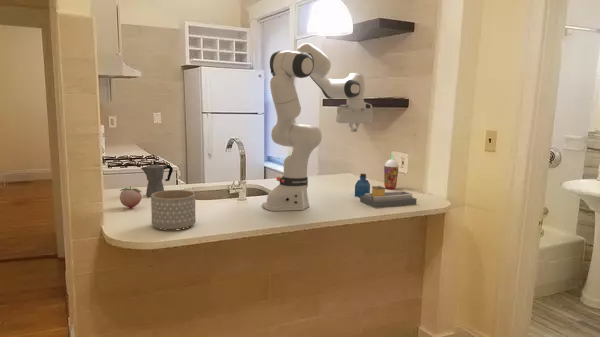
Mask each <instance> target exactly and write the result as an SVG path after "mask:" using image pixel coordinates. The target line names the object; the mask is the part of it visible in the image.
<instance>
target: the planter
mask: <svg viewBox="0 0 600 337" xmlns="http://www.w3.org/2000/svg"><path fill="white" fill-rule="evenodd" d="M150 200H151V201H150V203H151V204H150V208H151V209H150V210H151V226H153V227H154V228H156V229H158V228H161V229H166V230H176V229H183V228H187V227H189V226H190V227H192V226H193V225H195V224H196V223H197V222H196V193H195V192H194V191H192V190H191V191H190V190H185V189H184V190H183V189H170V190H169V189H167V190H164V191H159V192H155V193H153V194H152V195H151V199H150ZM190 227H189V228H190ZM187 229H188V228H187ZM166 230H165V231H166ZM183 230H184V229H183ZM176 231H177V230H176Z"/></svg>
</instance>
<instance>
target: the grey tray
mask: <svg viewBox="0 0 600 337" xmlns="http://www.w3.org/2000/svg"><path fill="white" fill-rule="evenodd" d="M359 202H360V203H362V204H363V205H364V204H365V205H367V206H369V207H372V208H374V209H381V208H392V207H403V206H405V207H406V206H413V205H417V198H416V197H413V193H411V192H408V191H402V190H398V191H396V190H395V191H385V196H377V197H372V192H370V193H366V194H365V196H360V197H359Z"/></svg>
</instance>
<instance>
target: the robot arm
mask: <svg viewBox="0 0 600 337" xmlns="http://www.w3.org/2000/svg"><path fill="white" fill-rule="evenodd" d="M331 65H332V62H331V60H330V59H329V57H328V56H327V54H325V53H324V52H323V51H322V50H320V49H319V48H318V47H316V46H315V45H313V44H312V43H308V42H306V43H305V42H304V43H302V44H300V45H299V46H298V48H296V51H293V50H278V51H275V52H273V53H272V54H271V55H270V58H269V68H270V74H271V75H272V77H271V79H270V81H269V85H270V86H269V87H270V92H271V93H270V94H271V97H272V101H273V104H274V109H275V112H276V117H277V120H276V124H275V125H274V126H273V127H272V129H271V139H272V142H273V143H275V144H277V145H278V146H282V147H289V148H290V147H291V148H293V150H292V153H291V154H290V155H288V156H287V157H285V159H284V160H283V175H282V176H276V181H277V182H279V184H278V185H277V186H276V187H274V188H273V189H272V190H270V191H269V192H268V194H267V197H266V201H265V202H262V204H261V207H262V208H263V209H265V210H268V211H271V212H281V211H282V212H283V211H285V212H286V211H288V212H289V211H304V210H305V209H307V208H309V207H310V202H309V198H308V196H309V195H308V186H309V183H308V182H309V181H308V180H309V178H308V163H309V158H310V156H311V154H312V152H313V151H314V150H315V149H316V148H317V147H318V146H320V144H321V142H322V138H323V136H322V135H323V134H322V131H321V129H320V128H319V127H318V126H315V125H314V124H313V125H312V124H308V123H297V122H296V119H297V117H299V115H300V114H301V112H302V107H301V104H300V101H299V97H298V92H297V88H296V87H295V78H299V79H303V78H308V77H310V78H311V80H312V82H314V83H315V84H316V85H317V86H318V88H319V89H320V90H321V92H322V94H323V95H324V97H325V98H326V99H329V100H330V99H332V100H333V99H334V100H335V99H346V104H340V105H338V106H337V108H336V115H335V116H336V117H335V120H336V123H337V124H348V126H349V128H350V132H351V133H357V132H358V129H359V127H360V124H371V123H372V122H373V120H374V119H373V115H374V113H373V109H372V108H373V105H372V104H371V103H368V102H365V97H364V94H365V77H364V75H363V74H362V73H358V72H350V73H349V75H348V76H347V77H345V78H335V79H334V78H330V77H329V78H328V77H327V75H328V74H329V72H330V71H331V67H332V66H331ZM354 125H355V127H354Z"/></svg>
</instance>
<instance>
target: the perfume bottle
mask: <svg viewBox="0 0 600 337" xmlns="http://www.w3.org/2000/svg"><path fill="white" fill-rule="evenodd" d="M359 175H360V176H359V179H358V180H357V181H356V183H355V185H354V197H356V198H360V196H365V194H366V193H371V184H370V182H369V180H368V179H367V174H366V173H359Z"/></svg>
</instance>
